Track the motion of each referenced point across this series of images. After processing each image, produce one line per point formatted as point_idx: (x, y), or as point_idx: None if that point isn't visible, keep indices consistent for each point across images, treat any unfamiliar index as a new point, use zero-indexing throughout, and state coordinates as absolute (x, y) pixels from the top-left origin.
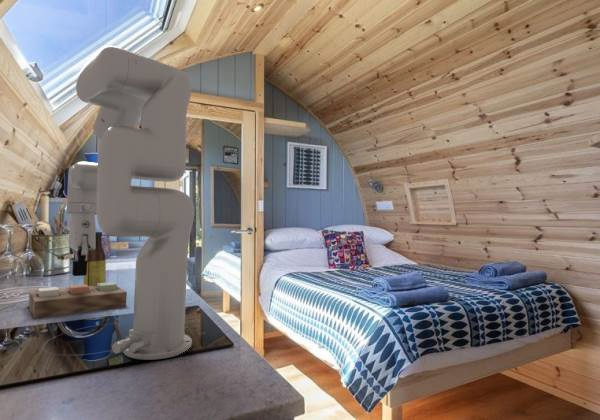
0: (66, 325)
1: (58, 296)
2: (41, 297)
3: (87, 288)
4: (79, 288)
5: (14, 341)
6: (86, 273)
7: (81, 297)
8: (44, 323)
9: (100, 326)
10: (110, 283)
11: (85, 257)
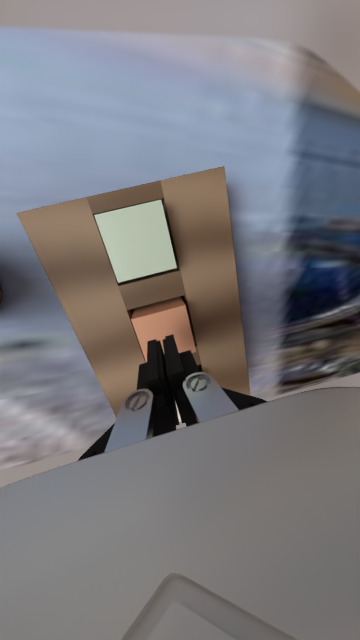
0: (311, 317)
1: (214, 367)
2: None
3: (185, 309)
4: (191, 331)
5: (348, 368)
6: (173, 336)
7: (239, 314)
8: (278, 353)
9: (354, 258)
10: (132, 227)
11: (244, 394)
